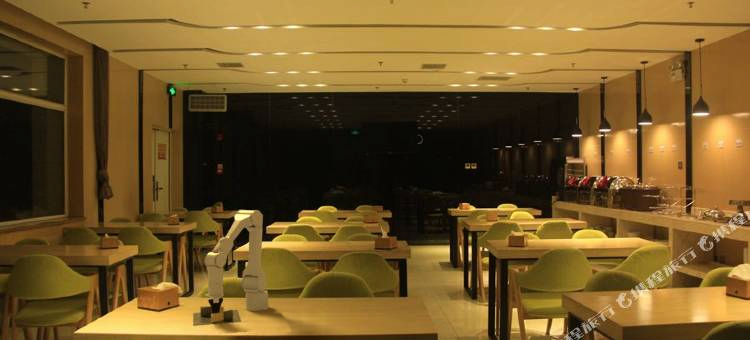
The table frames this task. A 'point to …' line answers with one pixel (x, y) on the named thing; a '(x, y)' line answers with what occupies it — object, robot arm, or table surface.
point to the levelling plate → (207, 321)
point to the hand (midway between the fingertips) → (215, 317)
